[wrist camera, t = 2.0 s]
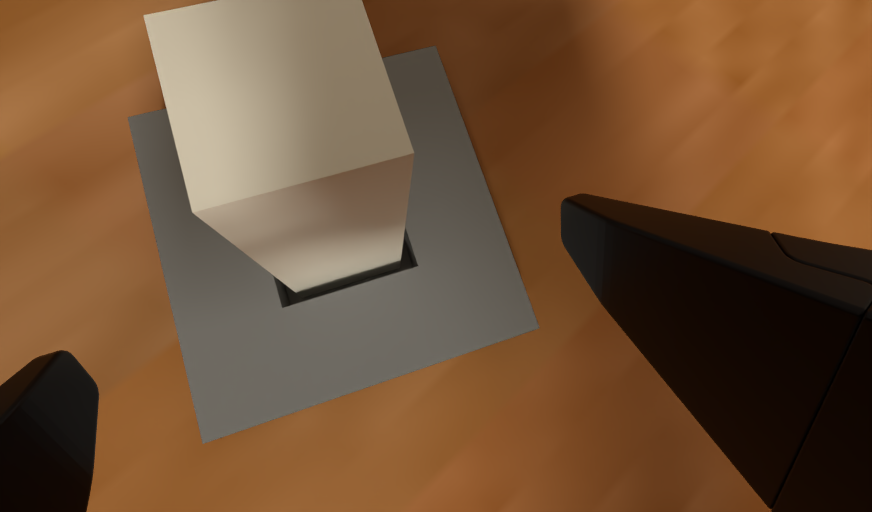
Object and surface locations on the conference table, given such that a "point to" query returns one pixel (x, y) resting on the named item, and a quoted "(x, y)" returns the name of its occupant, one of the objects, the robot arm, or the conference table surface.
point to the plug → (288, 134)
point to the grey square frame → (345, 305)
